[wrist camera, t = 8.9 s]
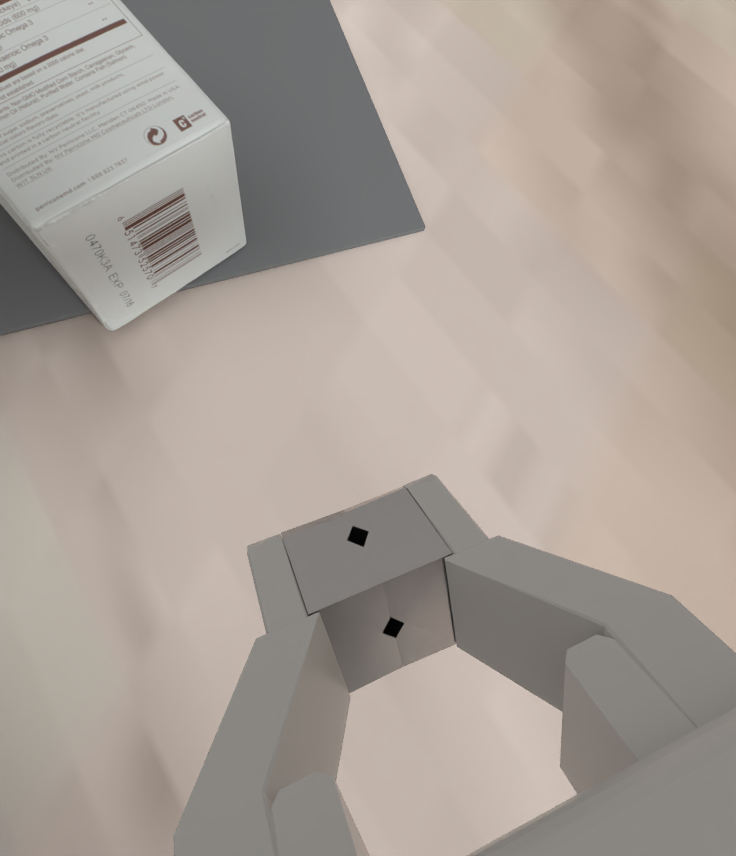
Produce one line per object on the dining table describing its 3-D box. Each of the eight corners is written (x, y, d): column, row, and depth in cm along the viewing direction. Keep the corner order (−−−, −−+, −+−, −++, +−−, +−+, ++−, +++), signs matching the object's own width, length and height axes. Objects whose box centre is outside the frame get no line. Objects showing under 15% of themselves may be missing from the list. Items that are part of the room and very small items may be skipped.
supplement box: (110, 338, 22) (-61, 130, 24) (252, 245, 24) (86, 57, 26) (21, 233, 15) (-214, -55, 17) (232, 112, 17) (5, -137, 19)
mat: (423, 230, 26) (425, 226, 26) (-21, 340, 22) (-25, 337, 22) (284, -102, 30) (284, -108, 30) (-111, -61, 26) (-115, -68, 26)
